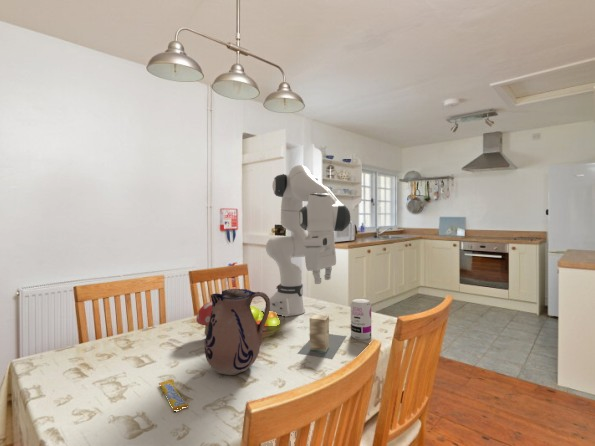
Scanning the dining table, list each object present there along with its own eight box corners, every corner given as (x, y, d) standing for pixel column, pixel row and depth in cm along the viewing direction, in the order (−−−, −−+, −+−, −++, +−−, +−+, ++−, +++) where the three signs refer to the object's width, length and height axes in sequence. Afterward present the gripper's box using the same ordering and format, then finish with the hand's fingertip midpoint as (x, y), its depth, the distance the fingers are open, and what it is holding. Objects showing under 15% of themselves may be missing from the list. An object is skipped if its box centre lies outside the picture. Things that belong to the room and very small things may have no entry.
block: (309, 350, 117) (309, 318, 117) (313, 345, 121) (313, 314, 121) (325, 353, 115) (325, 320, 115) (329, 348, 119) (328, 316, 119)
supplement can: (369, 333, 134) (369, 298, 134) (372, 341, 126) (372, 303, 126) (350, 333, 135) (350, 297, 135) (351, 340, 127) (351, 303, 126)
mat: (297, 354, 115) (297, 353, 115) (316, 332, 136) (316, 332, 136) (332, 359, 110) (332, 359, 110) (346, 337, 131) (346, 336, 131)
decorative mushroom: (204, 348, 121) (204, 308, 121) (191, 337, 132) (190, 301, 131) (236, 339, 130) (235, 302, 129) (221, 330, 140) (220, 296, 140)
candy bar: (189, 410, 83) (189, 403, 83) (173, 416, 81) (173, 409, 81) (173, 383, 97) (173, 377, 97) (158, 387, 95) (158, 381, 95)
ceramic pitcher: (203, 361, 110) (201, 289, 109) (262, 351, 117) (261, 284, 117) (207, 387, 94) (206, 302, 93) (276, 373, 101) (275, 295, 100)
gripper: (323, 239, 118) (324, 277, 118) (300, 241, 100) (302, 286, 99) (339, 239, 116) (341, 277, 115) (319, 240, 97) (321, 286, 97)
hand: (323, 281), depth 107 cm, fingers open, 8 cm apart
